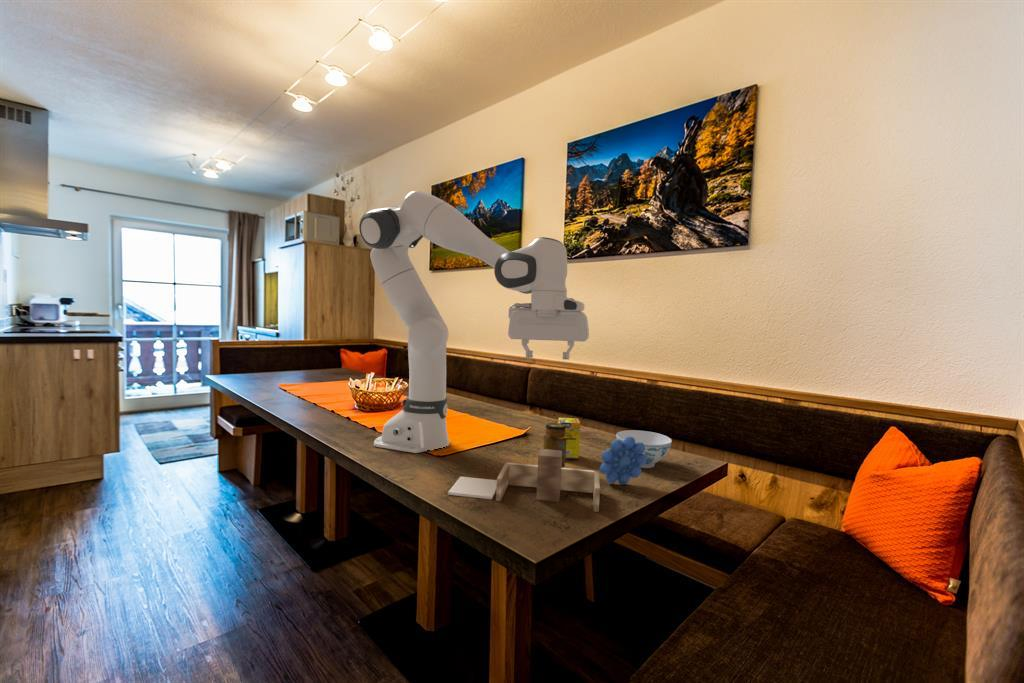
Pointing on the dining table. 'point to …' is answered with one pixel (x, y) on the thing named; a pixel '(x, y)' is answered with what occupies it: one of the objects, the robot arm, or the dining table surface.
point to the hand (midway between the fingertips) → (547, 358)
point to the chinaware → (649, 444)
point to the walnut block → (549, 475)
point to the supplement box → (571, 437)
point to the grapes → (623, 460)
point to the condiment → (556, 439)
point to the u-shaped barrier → (569, 480)
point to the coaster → (474, 488)
